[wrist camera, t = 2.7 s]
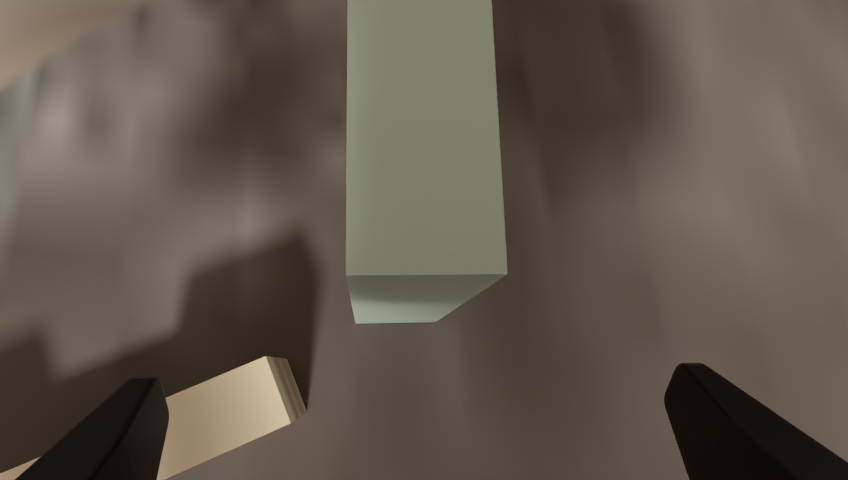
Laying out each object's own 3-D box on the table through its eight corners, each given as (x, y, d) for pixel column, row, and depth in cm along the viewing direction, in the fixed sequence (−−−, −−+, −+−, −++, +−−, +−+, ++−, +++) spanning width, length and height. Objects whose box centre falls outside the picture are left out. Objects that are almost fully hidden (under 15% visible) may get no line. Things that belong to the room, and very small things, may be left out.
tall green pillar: (435, 322, 21) (507, 274, 10) (355, 323, 21) (345, 275, 10) (430, 148, 23) (488, -48, 12) (355, 147, 22) (347, -55, 12)
